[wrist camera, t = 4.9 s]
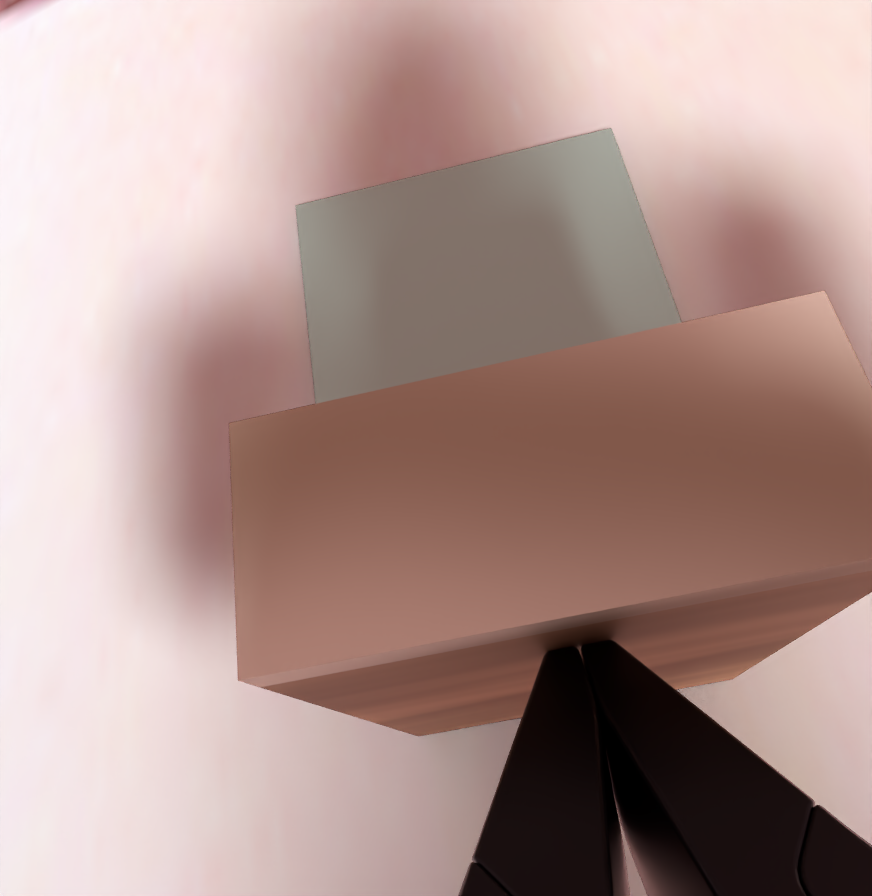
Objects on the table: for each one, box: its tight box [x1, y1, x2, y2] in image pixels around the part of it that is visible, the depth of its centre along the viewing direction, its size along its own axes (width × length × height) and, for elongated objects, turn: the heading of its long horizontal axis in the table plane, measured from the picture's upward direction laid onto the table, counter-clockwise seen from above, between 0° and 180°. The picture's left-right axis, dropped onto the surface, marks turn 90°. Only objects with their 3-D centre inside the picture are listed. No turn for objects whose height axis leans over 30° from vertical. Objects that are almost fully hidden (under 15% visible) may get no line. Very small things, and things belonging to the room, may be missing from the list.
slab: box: [229, 291, 872, 736], centre depth 12 cm, size 3×7×10 cm, turn 99°
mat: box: [296, 128, 682, 404], centre depth 20 cm, size 12×10×1 cm
